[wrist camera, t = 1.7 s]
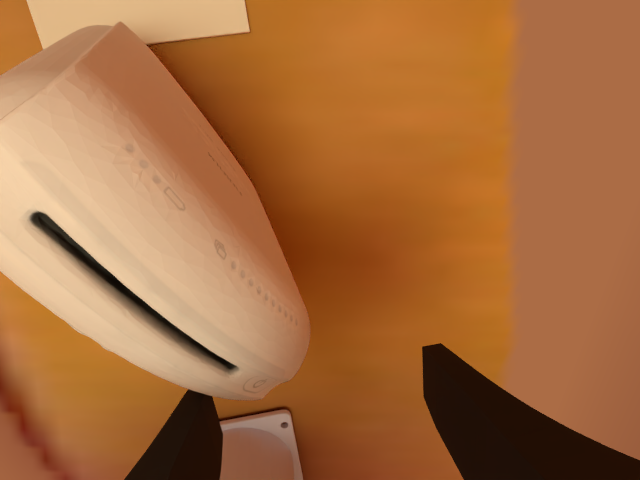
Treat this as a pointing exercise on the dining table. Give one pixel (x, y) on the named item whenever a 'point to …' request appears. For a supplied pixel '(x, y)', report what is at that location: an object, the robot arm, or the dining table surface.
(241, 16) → the mat
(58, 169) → the photo printer
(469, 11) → the dining table surface
